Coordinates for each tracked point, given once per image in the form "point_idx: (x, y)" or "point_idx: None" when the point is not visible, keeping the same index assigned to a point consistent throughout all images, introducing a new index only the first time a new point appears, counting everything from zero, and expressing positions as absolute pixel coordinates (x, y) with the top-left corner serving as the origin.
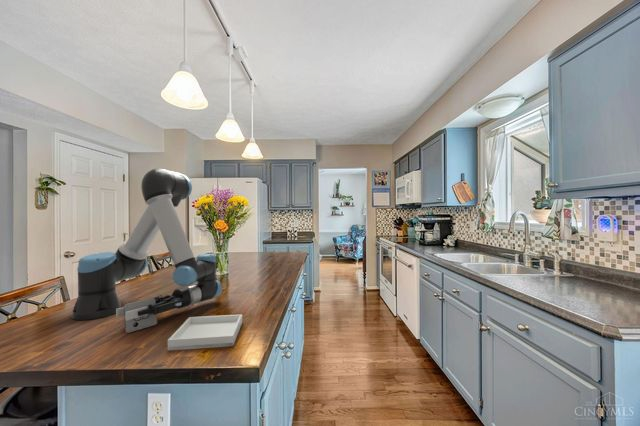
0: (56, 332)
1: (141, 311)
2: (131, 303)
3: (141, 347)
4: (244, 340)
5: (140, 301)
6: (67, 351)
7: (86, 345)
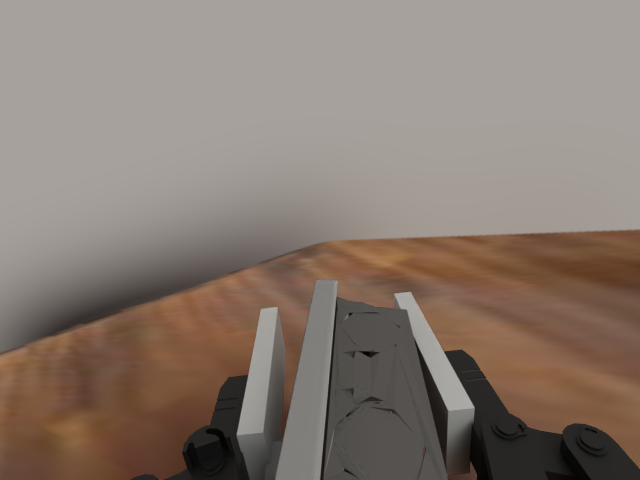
0: (586, 285)
1: (220, 391)
2: (313, 300)
3: (64, 422)
4: None
5: (302, 349)
6: None
7: None
